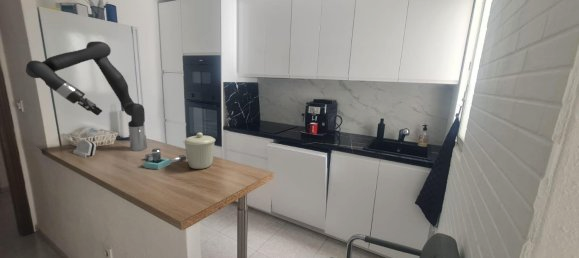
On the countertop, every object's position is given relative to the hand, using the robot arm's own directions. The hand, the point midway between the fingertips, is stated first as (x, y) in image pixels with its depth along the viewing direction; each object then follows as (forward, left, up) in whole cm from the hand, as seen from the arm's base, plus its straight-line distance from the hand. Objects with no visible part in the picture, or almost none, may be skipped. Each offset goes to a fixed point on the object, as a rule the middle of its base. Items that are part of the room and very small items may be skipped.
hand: (100, 113), depth 136 cm
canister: (-15, +54, -31) cm, 64 cm away
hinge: (-9, -29, -31) cm, 43 cm away
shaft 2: (-16, +35, -31) cm, 50 cm away
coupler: (-7, +30, -31) cm, 43 cm away
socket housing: (-7, +30, -31) cm, 43 cm away
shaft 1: (-12, +20, -31) cm, 39 cm away
